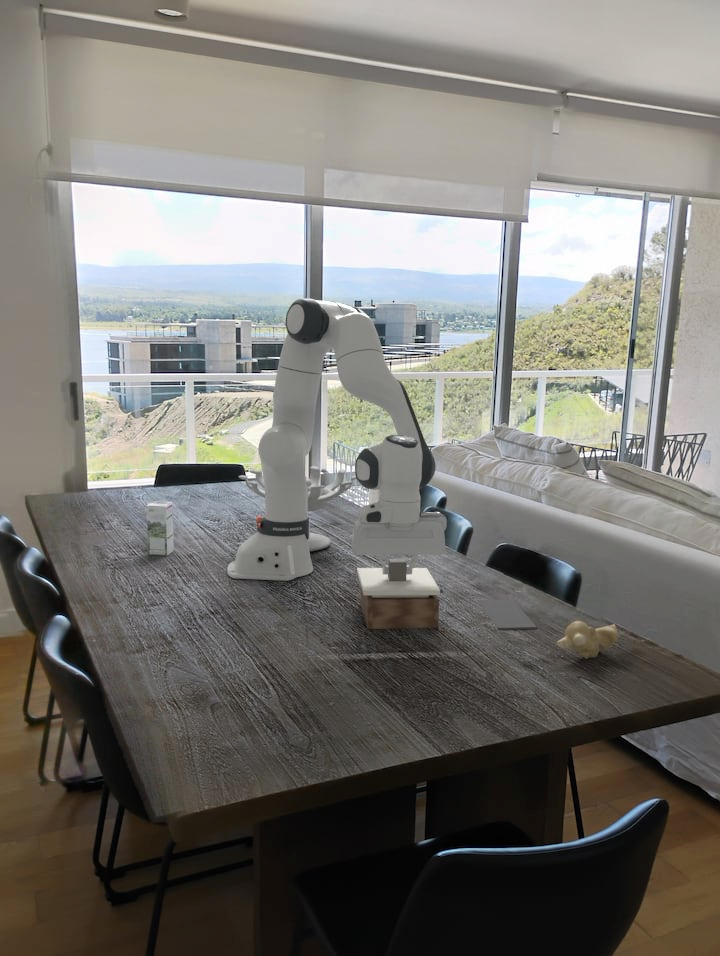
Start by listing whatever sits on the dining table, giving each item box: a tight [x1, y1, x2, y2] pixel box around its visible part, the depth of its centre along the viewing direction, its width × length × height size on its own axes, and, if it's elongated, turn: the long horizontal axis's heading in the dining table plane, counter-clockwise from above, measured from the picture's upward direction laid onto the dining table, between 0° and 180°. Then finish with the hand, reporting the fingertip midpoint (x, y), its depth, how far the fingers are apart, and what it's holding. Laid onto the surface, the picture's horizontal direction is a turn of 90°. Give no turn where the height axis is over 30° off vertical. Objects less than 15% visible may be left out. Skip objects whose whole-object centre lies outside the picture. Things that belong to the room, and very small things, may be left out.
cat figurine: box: [556, 620, 619, 659], centre depth 152 cm, size 8×7×12 cm
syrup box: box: [146, 500, 175, 557], centre depth 218 cm, size 6×6×14 cm
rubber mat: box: [476, 598, 538, 631], centre depth 175 cm, size 18×18×1 cm
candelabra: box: [238, 465, 357, 552], centre depth 228 cm, size 34×35×27 cm
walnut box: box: [359, 586, 440, 630], centre depth 170 cm, size 15×15×7 cm
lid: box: [356, 558, 441, 598], centre depth 169 cm, size 16×16×6 cm
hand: (397, 573), depth 169 cm, fingers closed on lid, 3 cm apart
